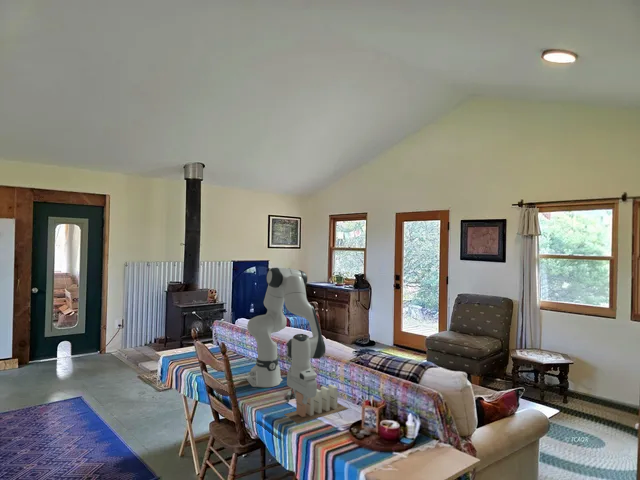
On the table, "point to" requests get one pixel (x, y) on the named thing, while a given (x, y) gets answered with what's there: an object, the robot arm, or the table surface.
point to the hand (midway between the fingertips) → (301, 401)
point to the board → (299, 419)
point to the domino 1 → (300, 405)
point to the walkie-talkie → (290, 395)
